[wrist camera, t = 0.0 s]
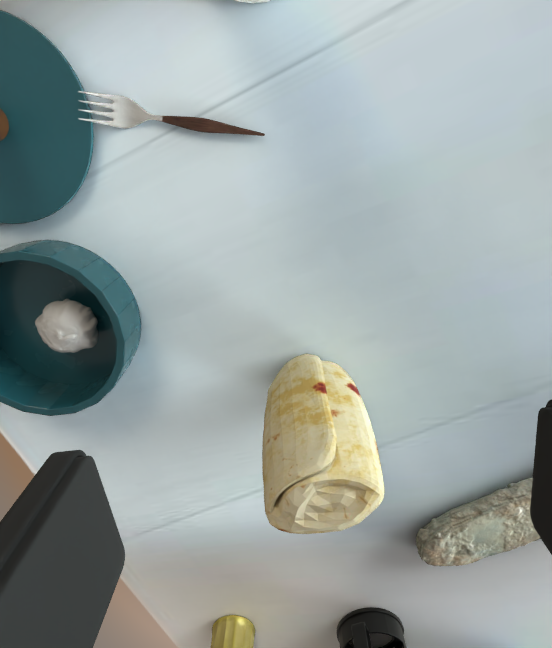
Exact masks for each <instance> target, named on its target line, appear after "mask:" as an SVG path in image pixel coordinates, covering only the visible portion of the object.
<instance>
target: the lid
mask: <svg viewBox="0 0 552 648" xmlns="http://www.w3.org/2000/svg"><path fill="white" fill-rule="evenodd" d="M78 91H83V92H84V90H83V88H82V86H81V83H80V81H79V79H78V77H77V76H76V74H75V72H74V70H73V69H72V67H71V65H70V64H69V63H68V61H67V60H66V59H65V57H64V56H63V55H62V53H61V52H60V51H59V50H58V49H57V48H56V47H55V45H54V44H53V43H52V42H51V41H50V40H49V39H47V38H46V37H45V36H44V35H43V34H42V33H41V32H39V31H38V30H37V29H35V28H34V27H32V26H31V25H30V24H28V23H27V22H25V21H23V20H21V19H19V18H17V17H16V16H14V15H12V14H10V13H7V12H4V11H2V10H0V223H8V224H17V223H27V222H31V221H36V220H39V219H42V218H44V217H47V216H49V215H51V214H53V213H55V212H56V211H58V210H60V209H61V208H62V207H63V206H65V205H66V204H67V203H68V202H69V201H70V200H71V199H72V198H73V197H74V196H75V194H76V193H77V192H78V190H79V189H80V187H81V186H82V184H83V182H84V180H85V177H86V175H87V173H88V170H89V166H90V163H91V158H92V152H93V137H94V136H93V123H92V122H90V121H85V120H79V119H78V118H82V119H92V118H91V113H89V112H84V111H80V110H90V108H89V105H88V103H84V102H80V101H78V100H81V101H87V98H86V95H85V93H80V92H78ZM78 109H80V110H78Z"/></svg>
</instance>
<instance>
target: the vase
mask: <svg viewBox="0 0 552 648" xmlns="http://www.w3.org/2000/svg"><path fill="white" fill-rule="evenodd" d="M254 636H255V629H254V626H253V624H252V623H251V622H250V621H249V620H248V619H246V618H244V617H241V616H237V615H229V616H224V617H221V618H220V619H218V620H217V621H216V622H215V623H214V624H213V627H212V642H211V648H253V643H254Z"/></svg>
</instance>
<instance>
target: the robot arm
mask: <svg viewBox="0 0 552 648" xmlns="http://www.w3.org/2000/svg"><path fill="white" fill-rule="evenodd" d="M235 1H238V2H247V3H259V2H267V1H270V0H235ZM530 516H531V520H532V523H533V526H534V528H535V530H536V532H537V533H538V535H539V536H540V538H541V539H542V541H543V542H544V544H545V545H546V547H547V548H548V550H549V551H550V553H551V554H552V400H550V401H548V403H547V405H546V408H541V409H540V411H539V414H538V423H537V434H536V446H535V457H534V469H533V481H532V492H531V504H530ZM124 560H125V550H124V546H123V543H122V541H121V538H120V535H119V532H118V529H117V526H116V523H115V520H114V517H113V514H112V511H111V508H110V505H109V502H108V499H107V497H106V494H105V491H104V488H103V485H102V482H101V479H100V476H99V473H98V470H97V467H96V464H95V461H94V459H93V458H92V457H91V456H86V454H85V453H84V452H83V451H82V450H74V451H65V452H56V453H53V454H51V455H50V456H49V458H48V459H47V460H46V462H45V463H44V464H43V466H42V467H41V468H40V470H39V471H38V472H37V474H36V475H35V476H34V478H33V479H32V480H31V482H30V483H29V484H28V486H27V487H26V488H25V490H24V491H23V492H22V494H21V495H20V496H19V498H18V499H17V500H16V502H15V503H14V504H13V506H12V507H11V508H10V510H9V511H8V512H7V514H6V515H5V516H4V518H3V519H2V520H1V522H0V648H93V646H94V643H95V640H96V637H97V635H98V632H99V630H100V627H101V624H102V622H103V619H104V616H105V614H106V611H107V608H108V606H109V603H110V600H111V598H112V595H113V593H114V590H115V587H116V585H117V582H118V579H119V577H120V574H121V571H122V569H123V566H124Z"/></svg>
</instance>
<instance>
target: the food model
mask: <svg viewBox="0 0 552 648" xmlns="http://www.w3.org/2000/svg"><path fill="white" fill-rule="evenodd" d="M262 455H263V482H264V502H265V512H266V515H267V518H268V520H269V523H270V524H271V525H272V526H274V527H275V528H277V529H278V530H281V531H285V532H289V533H298V534H312V533H324V532H333V531H342V530H344V529H347V528H349V527H352V526H354V525H357V524H359V523H360V522H361V521H363V520H364V519H365V518H366V517H367V516H368V515H369V514H371V513H372V512H373V511H374V510H375V509H376V508H377V507H378V506H379V505H380V503H381V502H382V500H383V497H384V482H383V476H382V470H381V465H380V460H379V454H378V448H377V444H376V440H375V436H374V433H373V429H372V425H371V422H370V418H369V416H368V413H367V411H366V408H365V405H364V403H363V400H362V398H361V396H360V394H359V392H358V389H357V387H356V385H355V383H354V381H353V380H352V379H351V377H350V376H349V375H348V374H347V372H346V371H345V370H344V369H342V368H341V367H340V366H339V365H338V364H335V363H333V362H330V361H321V360H320V358H319V357H318V356H315V355H311V354H303V355H300V356H297V357H295V358H293V359H292V360H290V361H289V362H287V363H286V364H285V365H284V366H283V368H282V369H281V370H280V371H279V373H278V374H277V376H276V377H275V379H274V381H273V382H272V384H271V386H270V387H269V389H268V396H267V404H266V410H265V417H264V433H263V452H262Z"/></svg>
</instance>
